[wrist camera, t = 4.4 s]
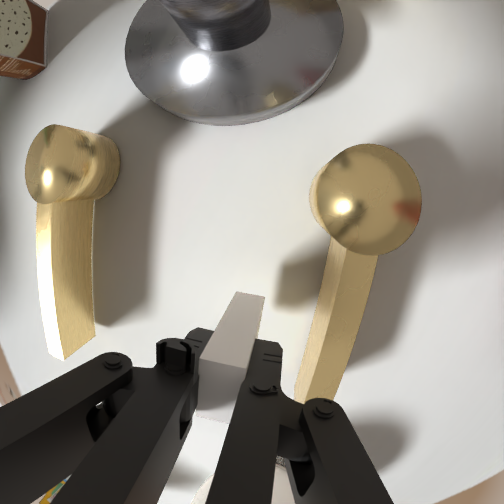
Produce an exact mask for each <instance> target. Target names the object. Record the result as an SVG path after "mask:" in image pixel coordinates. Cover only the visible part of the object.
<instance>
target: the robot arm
mask: <svg viewBox="0 0 504 504" xmlns="http://www.w3.org/2000/svg"><path fill="white" fill-rule="evenodd" d="M264 299H265V297H263V296H258V295H252V294H247V293H242V292H236V293H235V295H234V297H233V299H232V300H231V302H230V304H229V306H228V308H227V309H226V311H225V313H224V315H223V317H222V318H221V320H220V322H219V324H218V326H217V327H216V329H215V331H211V330H207V329H203V328H196V329H194V330H192V331H190V332H189V333H188V334H187V336H186V337H185V339H184V340H183V339H178V338H167V339H163V340H160V341H159V342H157V343H156V362H157V364H156V365H155V366H154V368H141V367H133V366H132V362H131V359H130V358H129V357H128V356H126V355H124V354H121V353H117V352H108V353H104V354H101V355H99V356H97V357H95V358H93V359H92V360H90V361H88V362H86V363H84V364H82V365H80V366H78V367H77V368H75V369H73V370H71V371H69V372H67V373H65V374H63V375H62V376H60V377H58V378H56V379H54V380H52V381H50V382H48V383H46V384H44V385H43V386H41V387H39V388H37V389H35V390H33V391H31V392H29V393H27V394H25V395H23V396H21V397H19V398H18V399H16V400H14V401H12V402H10V403H8V404H6V405H4V406H2V407H0V504H30V503H32V502H33V501H35V500H36V499H38V498H39V497H41V496H42V495H43V494H45V493H46V492H48V491H49V490H51V489H52V488H54V487H55V486H56V485H58V484H59V483H60V482H62V481H63V480H64V479H66V478H67V477H69V476H70V475H71V474H72V475H71V476H70V477H69V479H68V480H67V481H66V483H65V484H64V485H63V487H62V488H61V489H60V491H59V492H58V493H57V495H56V496H55V497H54V499H53V500H52V501H51V503H50V504H157V502H158V500H159V498H160V496H161V493H162V491H163V489H164V487H165V484H166V482H167V480H168V478H169V476H170V473H171V471H172V469H173V467H174V464H175V462H176V460H177V458H178V455H179V453H180V451H181V449H182V446H183V444H184V442H185V440H186V437H187V435H188V433H189V431H190V428H191V426H192V416H193V413H194V411H195V409H196V416H198V417H202V418H206V419H210V420H214V421H218V422H223V423H227V424H229V427H228V431H227V434H226V437H225V441H224V444H223V447H222V451H221V454H220V457H219V461H218V464H217V467H216V470H215V474H214V477H213V480H212V483H211V486H210V490H209V493H208V496H207V499H206V502H205V504H271V502H272V494H273V485H274V476H275V467H276V457H277V455H278V456H281V457H283V458H284V463H285V467H286V471H287V475H288V478H289V482H290V486H291V490H292V494H293V497H294V501H295V504H394V503H393V501H392V499H391V498H390V496H389V494H388V492H387V490H386V488H385V486H384V484H383V483H382V481H381V479H380V477H379V475H378V473H377V471H376V469H375V468H374V466H373V464H372V462H371V460H370V458H369V456H368V454H367V453H366V451H365V449H364V447H363V445H362V443H361V441H360V440H359V438H358V436H357V434H356V432H355V430H354V428H353V427H352V425H351V423H350V421H349V419H348V417H347V416H346V414H345V412H344V410H343V409H342V407H341V406H340V405H339V404H338V403H336V402H334V401H333V400H330V399H326V398H313V399H310V400H308V401H306V402H305V404H302V403H299V402H297V401H294V400H292V399H290V398H289V397H287V396H286V395H285V394H284V393H283V392H282V390H281V386H280V381H281V368H282V353H283V349H282V348H281V346H280V345H279V343H277V342H271V341H266V340H260V339H257V338H258V332H259V327H260V321H261V316H262V310H263V304H264ZM100 402H102V403H101V404H100V405H97V404H99V403H100ZM96 405H97V406H96Z"/></svg>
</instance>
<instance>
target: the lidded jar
mask: <svg viewBox="0 0 504 504" xmlns="http://www.w3.org/2000/svg"><path fill="white" fill-rule="evenodd" d="M214 474H215V473H214ZM214 474H213V475H211V476H210V477H209V478H208V479H207V480H206V481H205V482H204V483H203V484H202V485H201V487H200V488H199V489H198V491H197V492H196V494H195V496H194V498H193V500H192V502H191V504H205V502H206V499H207V496H208V493H209V490H210V486H211V483H212V480H213V477H214ZM271 504H295V501H294V497H293V494H292V490H291V486H290V482H289V478H288V475H287V471H286V468H285V467H283V466H282V465H279V464H277V463H276V467H275V476H274V485H273V494H272V502H271Z"/></svg>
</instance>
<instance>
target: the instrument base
mask: <svg viewBox="0 0 504 504" xmlns="http://www.w3.org/2000/svg"><path fill="white" fill-rule="evenodd" d="M342 37H343V18H342V14H341V10H340V8H339V6H338V4H337V1H336V0H147V1H146V2H145V3H144V4H143V6H142V7H141V8H140V10H139V11H138V13H137V14H136V16H135V18H134V19H133V22H132V24H131V26H130V28H129V31H128V35H127V38H126V45H125V60H126V66H127V70H128V72H129V75H130V77H131V79H132V81H133V82H134V84H135V85H136V87H137V88H138V89H139V90H140V91H141V92H142V93H143V94H144V95H145V96H146V97H147V98H149V99H150V100H151V101H153V102H154V103H156V104H157V105H159V106H161V107H162V108H164V109H165V110H167V111H169V112H170V113H172V114H174V115H176V116H178V117H180V118H183V119H185V120H188V121H192V122H196V123H200V124H207V125H214V126H232V125H243V124H248V123H253V122H259V121H262V120H265V119H268V118H272V117H274V116H277V115H279V114H281V113H284V112H286V111H288V110H290V109H292V108H293V107H295V106H297V105H299V104H300V103H302V102H303V101H304V100H306V99H307V98H308V97H310V96H311V95H312V94H313V93H314V92H315V91H316V90H317V89H318V88H319V87H320V86H321V85H322V84H323V82H324V81H325V80H326V78H327V77H328V75H329V74H330V72H331V70H332V68H333V66H334V63H335V60H336V57H337V54H338V51H339V48H340V45H341V42H342Z"/></svg>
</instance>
